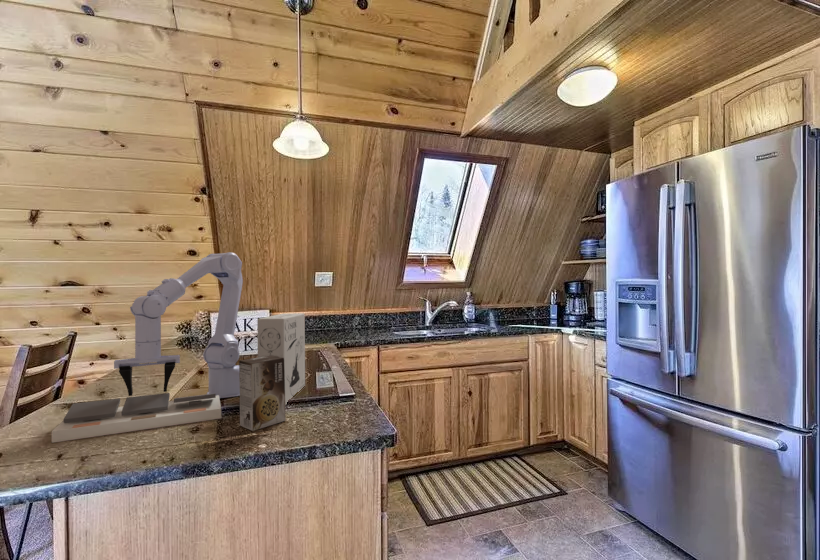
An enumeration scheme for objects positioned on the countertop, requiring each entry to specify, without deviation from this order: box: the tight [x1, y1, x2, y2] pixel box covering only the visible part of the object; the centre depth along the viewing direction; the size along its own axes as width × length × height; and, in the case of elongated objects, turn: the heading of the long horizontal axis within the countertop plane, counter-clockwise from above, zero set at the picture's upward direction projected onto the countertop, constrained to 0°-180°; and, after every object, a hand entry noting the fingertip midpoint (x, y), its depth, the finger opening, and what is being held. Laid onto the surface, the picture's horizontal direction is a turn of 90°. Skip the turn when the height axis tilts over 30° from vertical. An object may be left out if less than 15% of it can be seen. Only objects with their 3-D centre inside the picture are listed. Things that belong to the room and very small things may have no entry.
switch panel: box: [51, 395, 222, 443], centre depth 104 cm, size 34×15×3 cm, turn 117°
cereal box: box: [257, 312, 306, 406], centre depth 126 cm, size 22×8×25 cm, turn 179°
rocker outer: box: [62, 398, 121, 423], centre depth 99 cm, size 10×8×1 cm
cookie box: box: [238, 355, 287, 432], centre depth 101 cm, size 9×6×16 cm
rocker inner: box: [173, 393, 216, 403], centre depth 109 cm, size 10×8×1 cm
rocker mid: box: [121, 392, 171, 416], centre depth 104 cm, size 10×8×1 cm
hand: (148, 392), depth 107 cm, fingers open, 7 cm apart
